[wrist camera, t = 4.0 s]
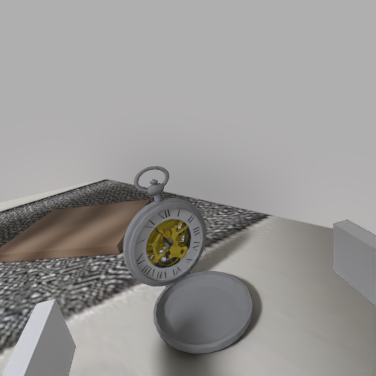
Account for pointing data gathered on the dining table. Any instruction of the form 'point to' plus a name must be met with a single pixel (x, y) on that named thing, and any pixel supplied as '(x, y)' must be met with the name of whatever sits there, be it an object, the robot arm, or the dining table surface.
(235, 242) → the dining table surface
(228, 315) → the pocket watch
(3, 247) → the walnut board
